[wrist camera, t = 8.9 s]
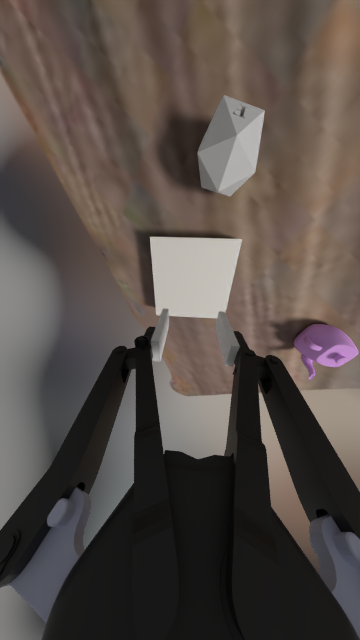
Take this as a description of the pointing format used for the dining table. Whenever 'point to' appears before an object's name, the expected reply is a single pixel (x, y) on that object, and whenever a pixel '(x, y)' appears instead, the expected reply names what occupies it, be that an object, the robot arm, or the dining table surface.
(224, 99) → the die
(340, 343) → the teapot
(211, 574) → the robot arm
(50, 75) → the dining table surface
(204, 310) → the plinth
